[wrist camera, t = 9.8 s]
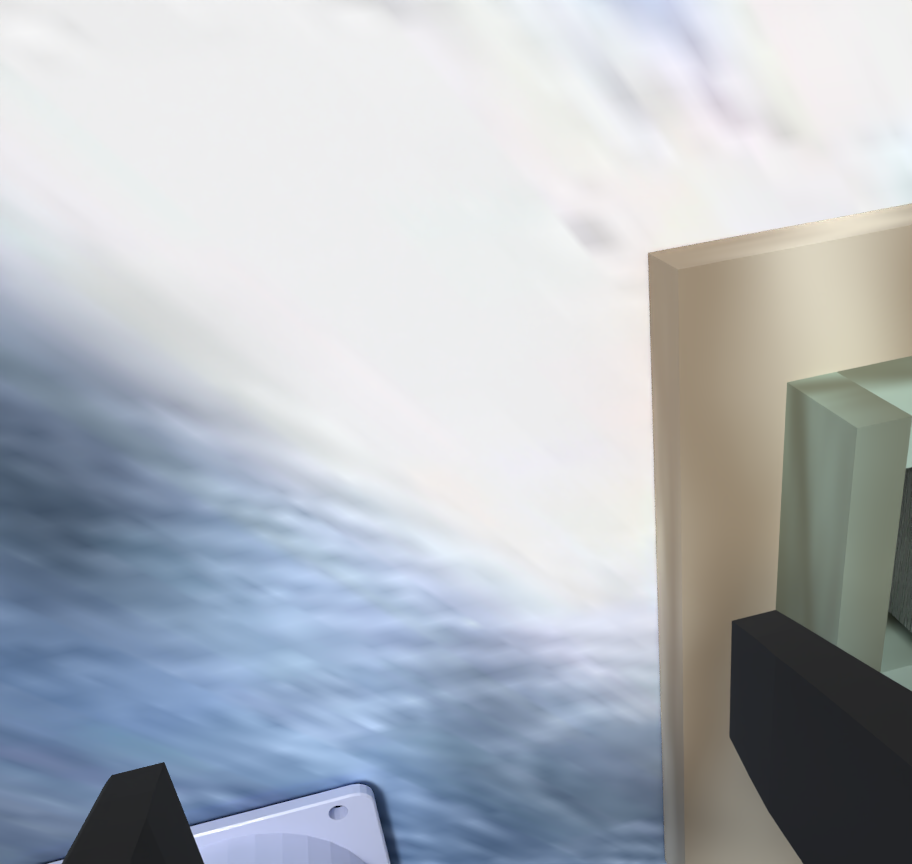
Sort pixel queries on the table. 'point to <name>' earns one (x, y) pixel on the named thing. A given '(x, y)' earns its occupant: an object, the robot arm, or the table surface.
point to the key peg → (903, 560)
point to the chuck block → (772, 483)
